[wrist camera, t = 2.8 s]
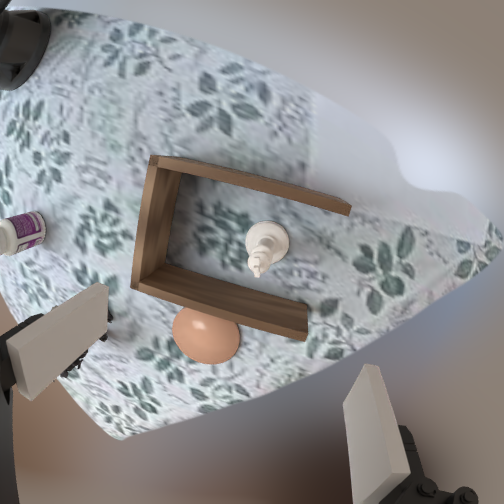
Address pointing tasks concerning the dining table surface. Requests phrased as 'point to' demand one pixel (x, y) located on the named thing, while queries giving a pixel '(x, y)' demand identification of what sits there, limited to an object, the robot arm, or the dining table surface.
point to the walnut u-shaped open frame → (200, 286)
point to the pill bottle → (21, 233)
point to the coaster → (205, 336)
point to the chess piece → (265, 245)
